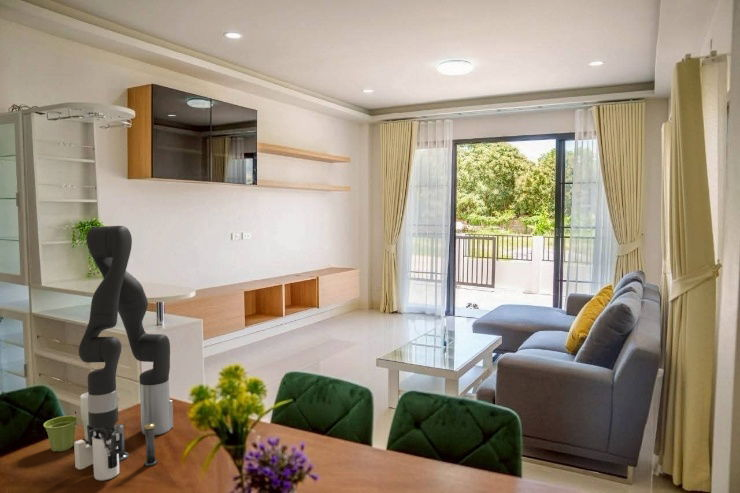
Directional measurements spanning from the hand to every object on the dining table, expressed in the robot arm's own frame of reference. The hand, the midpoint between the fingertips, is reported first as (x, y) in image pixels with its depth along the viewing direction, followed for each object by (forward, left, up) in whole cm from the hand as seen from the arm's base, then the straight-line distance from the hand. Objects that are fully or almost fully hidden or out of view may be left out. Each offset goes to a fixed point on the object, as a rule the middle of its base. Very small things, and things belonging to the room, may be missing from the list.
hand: (105, 464), depth 148 cm
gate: (-1, -7, -1) cm, 7 cm away
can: (0, 0, -4) cm, 4 cm away
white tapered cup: (-11, -27, -4) cm, 29 cm away
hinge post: (-8, -7, -3) cm, 11 cm away
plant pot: (-2, -29, -4) cm, 29 cm away
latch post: (-11, +4, -3) cm, 13 cm away
